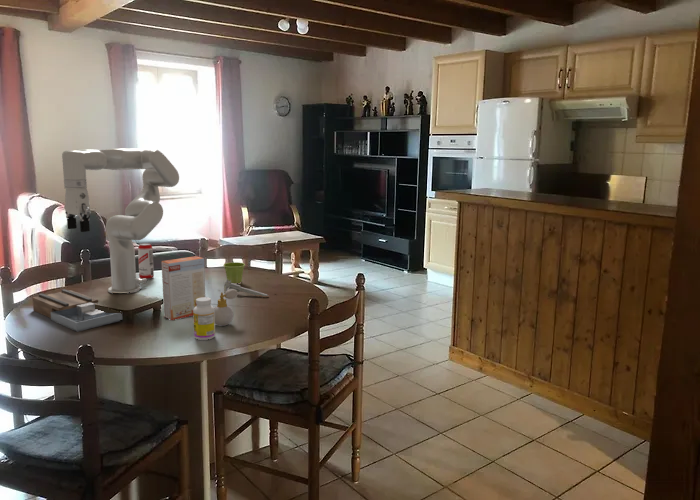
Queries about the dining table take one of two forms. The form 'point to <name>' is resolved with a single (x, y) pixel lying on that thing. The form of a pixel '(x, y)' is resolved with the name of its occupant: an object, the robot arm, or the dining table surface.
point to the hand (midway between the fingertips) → (78, 230)
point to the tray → (72, 322)
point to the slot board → (59, 301)
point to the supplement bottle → (204, 319)
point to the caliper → (240, 288)
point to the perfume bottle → (224, 308)
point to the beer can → (145, 261)
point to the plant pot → (234, 271)
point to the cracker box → (182, 286)
